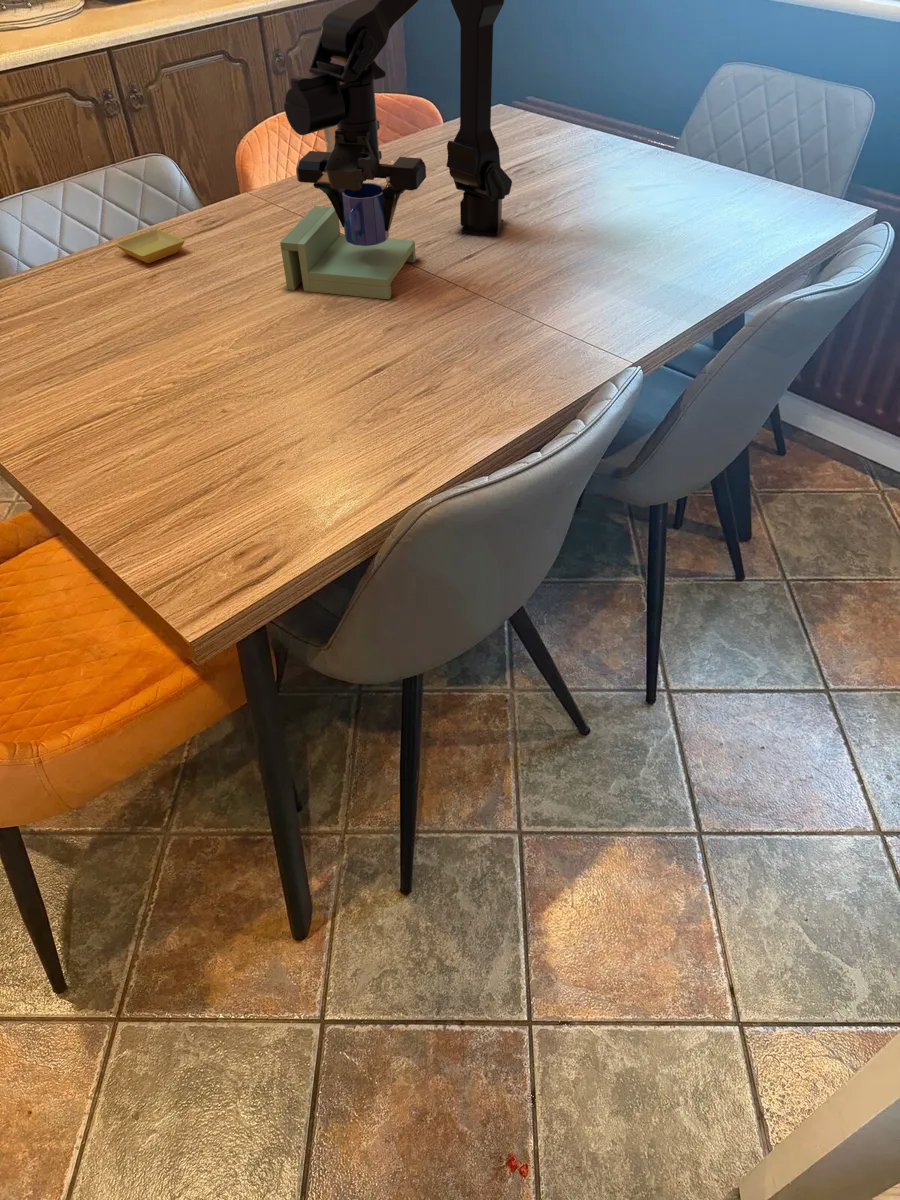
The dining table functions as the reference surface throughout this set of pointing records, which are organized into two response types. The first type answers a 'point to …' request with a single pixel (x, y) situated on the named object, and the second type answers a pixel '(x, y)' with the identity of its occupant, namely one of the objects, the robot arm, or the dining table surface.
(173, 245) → the yellow shallow square dish
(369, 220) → the mug
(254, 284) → the dining table surface
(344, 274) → the shelf
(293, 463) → the dining table surface
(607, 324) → the dining table surface
